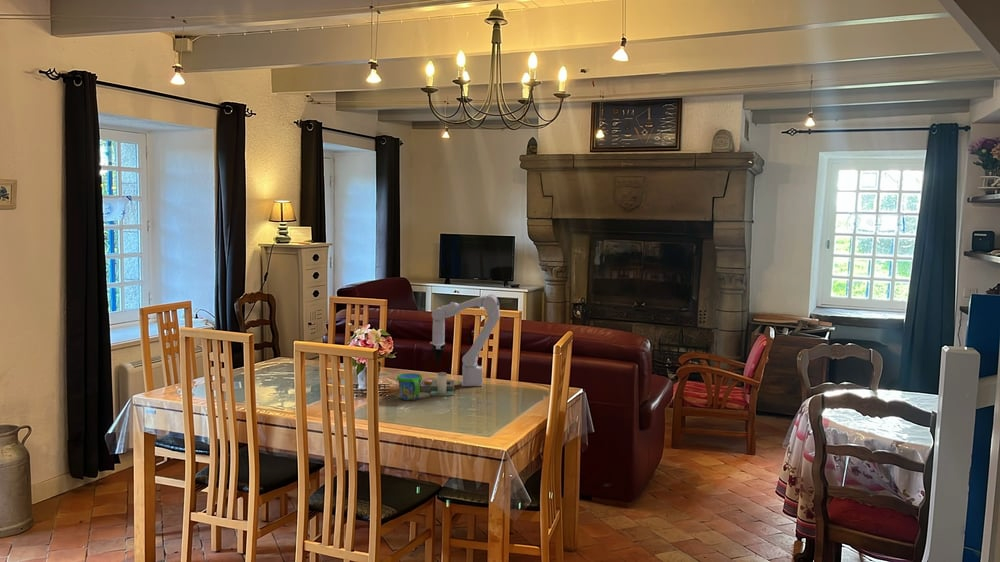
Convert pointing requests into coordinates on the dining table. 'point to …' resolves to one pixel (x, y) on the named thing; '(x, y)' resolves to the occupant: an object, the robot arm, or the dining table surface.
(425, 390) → the housing
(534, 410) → the dining table surface
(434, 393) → the mat
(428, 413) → the dining table surface
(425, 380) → the plunger
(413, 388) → the snack cup
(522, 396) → the dining table surface
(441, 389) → the cylinder
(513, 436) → the dining table surface
